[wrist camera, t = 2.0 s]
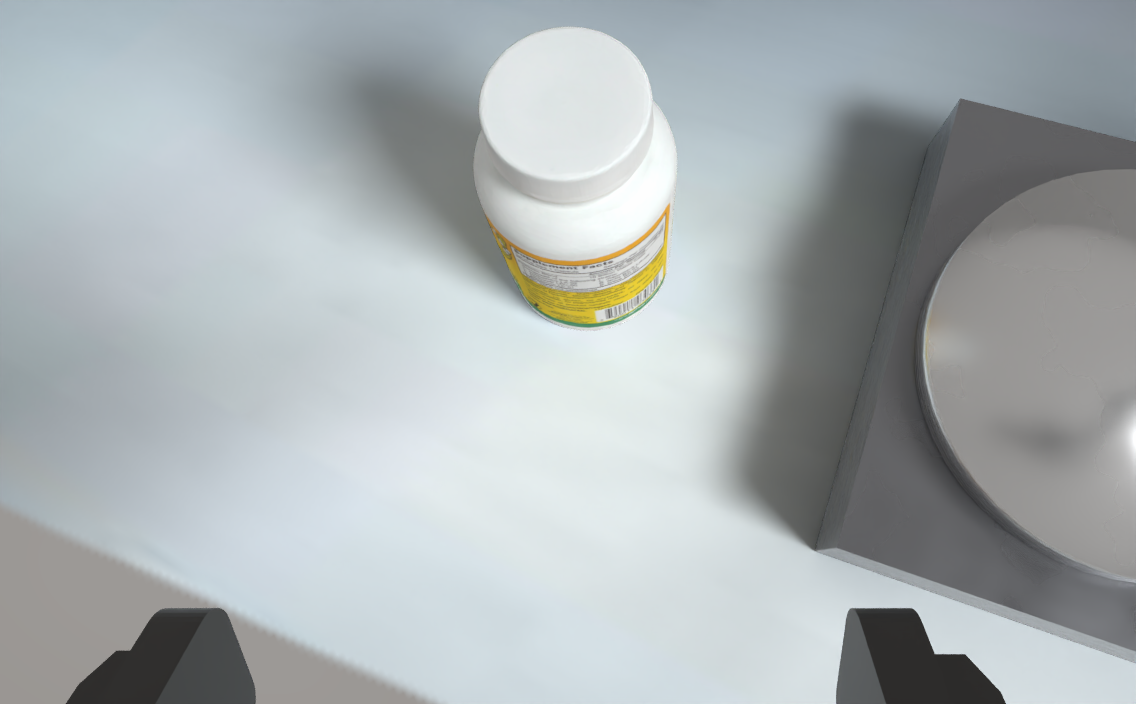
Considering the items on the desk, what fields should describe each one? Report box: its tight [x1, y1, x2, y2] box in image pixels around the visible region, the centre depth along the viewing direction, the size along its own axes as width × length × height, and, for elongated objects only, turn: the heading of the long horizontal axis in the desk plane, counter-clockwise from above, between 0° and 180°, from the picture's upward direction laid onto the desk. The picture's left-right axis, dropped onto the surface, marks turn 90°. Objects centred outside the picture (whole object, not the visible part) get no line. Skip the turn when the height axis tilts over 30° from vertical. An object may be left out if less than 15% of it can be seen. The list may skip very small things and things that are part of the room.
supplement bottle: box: [473, 27, 677, 331], centre depth 23 cm, size 5×5×10 cm
